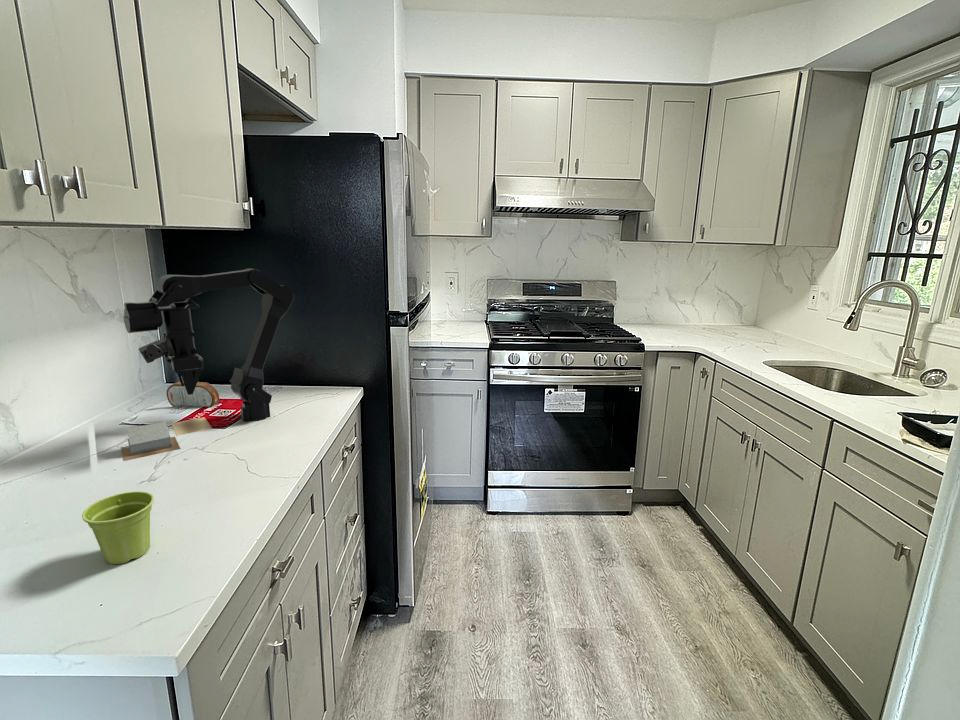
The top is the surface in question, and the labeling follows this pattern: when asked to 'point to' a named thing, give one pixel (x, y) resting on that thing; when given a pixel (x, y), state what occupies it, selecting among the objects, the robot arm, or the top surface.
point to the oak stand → (191, 426)
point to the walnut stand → (128, 456)
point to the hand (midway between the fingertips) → (187, 389)
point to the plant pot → (121, 525)
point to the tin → (193, 395)
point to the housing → (148, 438)
